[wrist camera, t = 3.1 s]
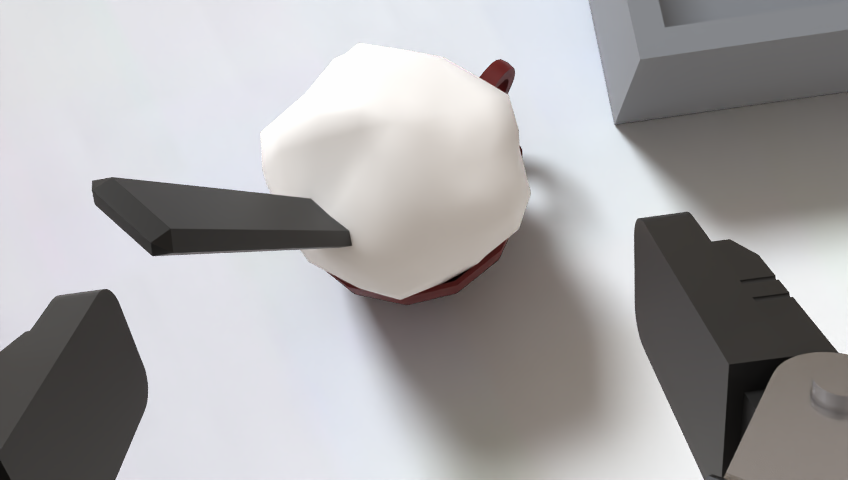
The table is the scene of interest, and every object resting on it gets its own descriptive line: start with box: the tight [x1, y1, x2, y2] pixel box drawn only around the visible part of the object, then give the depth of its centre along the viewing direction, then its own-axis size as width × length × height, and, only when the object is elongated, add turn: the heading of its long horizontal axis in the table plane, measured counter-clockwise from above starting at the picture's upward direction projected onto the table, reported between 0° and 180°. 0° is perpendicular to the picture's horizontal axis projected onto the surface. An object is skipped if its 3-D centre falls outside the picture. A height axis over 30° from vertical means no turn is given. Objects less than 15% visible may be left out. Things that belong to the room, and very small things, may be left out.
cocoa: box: [92, 43, 531, 305], centre depth 18 cm, size 10×6×12 cm, turn 118°
